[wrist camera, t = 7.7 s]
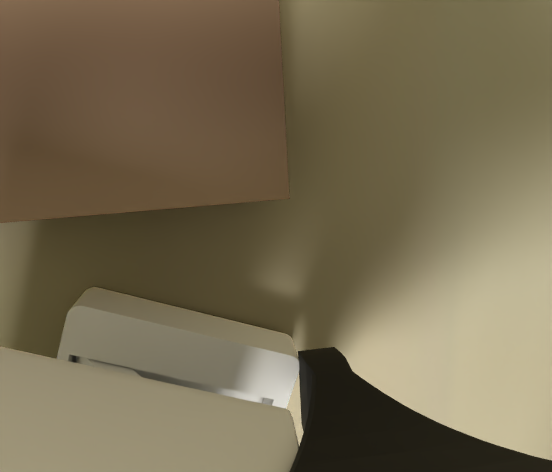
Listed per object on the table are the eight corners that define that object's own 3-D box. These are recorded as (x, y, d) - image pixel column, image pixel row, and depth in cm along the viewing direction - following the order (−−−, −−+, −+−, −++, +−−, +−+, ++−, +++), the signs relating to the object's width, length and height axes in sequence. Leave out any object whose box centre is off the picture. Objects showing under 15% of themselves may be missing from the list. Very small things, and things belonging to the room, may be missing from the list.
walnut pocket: (300, 617, 15) (317, 711, 13) (-125, 696, 14) (-196, 819, 11) (262, 2, 11) (277, -31, 8) (-383, 25, 9) (-592, -5, 7)
